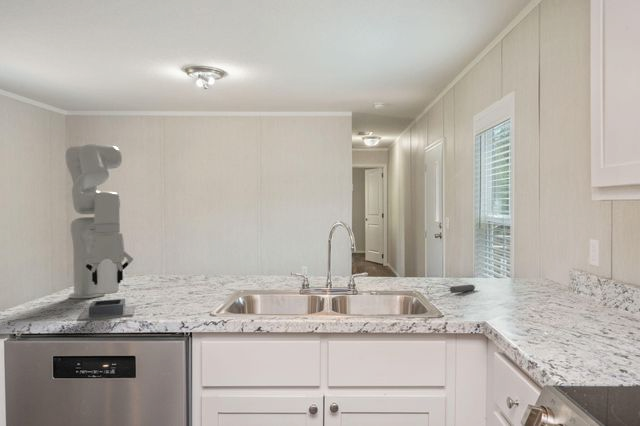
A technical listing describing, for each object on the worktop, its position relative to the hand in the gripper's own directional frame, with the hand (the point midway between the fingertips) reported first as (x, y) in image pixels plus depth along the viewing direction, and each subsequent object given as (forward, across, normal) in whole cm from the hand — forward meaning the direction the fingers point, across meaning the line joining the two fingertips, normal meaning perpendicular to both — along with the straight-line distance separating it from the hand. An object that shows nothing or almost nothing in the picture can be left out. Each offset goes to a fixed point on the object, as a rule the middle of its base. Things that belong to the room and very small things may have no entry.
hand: (107, 282), depth 141 cm
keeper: (+10, 0, 0) cm, 10 cm away
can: (+3, 0, 0) cm, 3 cm away
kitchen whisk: (+11, +124, -18) cm, 126 cm away
